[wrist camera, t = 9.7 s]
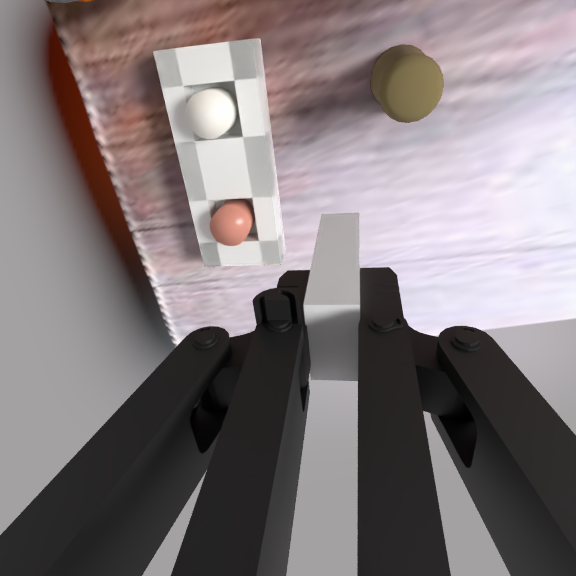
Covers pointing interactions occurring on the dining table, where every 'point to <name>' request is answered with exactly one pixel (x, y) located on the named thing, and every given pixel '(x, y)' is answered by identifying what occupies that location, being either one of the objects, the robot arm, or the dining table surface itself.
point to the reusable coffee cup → (66, 1)
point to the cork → (406, 83)
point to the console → (226, 147)
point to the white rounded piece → (212, 112)
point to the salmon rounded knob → (232, 222)
